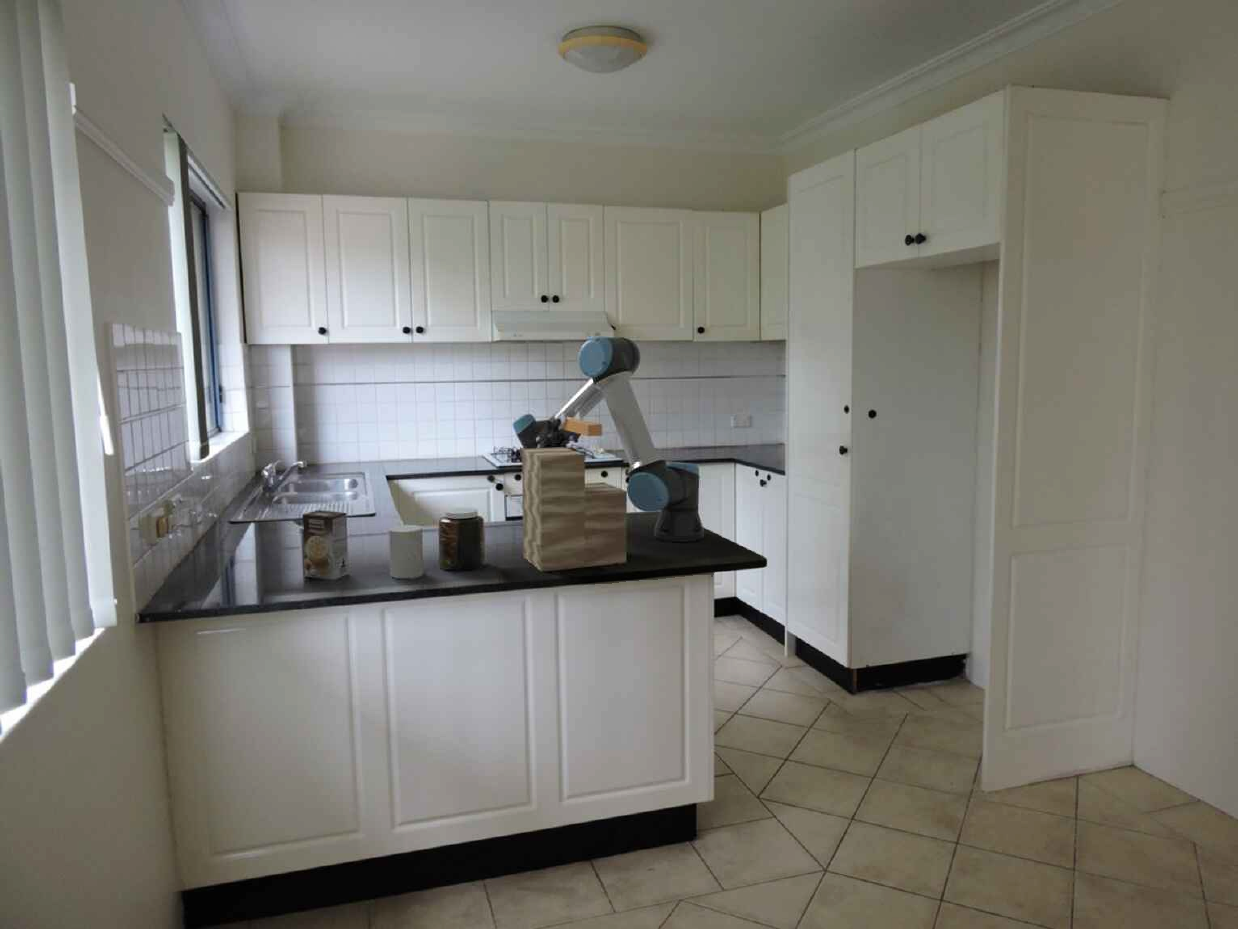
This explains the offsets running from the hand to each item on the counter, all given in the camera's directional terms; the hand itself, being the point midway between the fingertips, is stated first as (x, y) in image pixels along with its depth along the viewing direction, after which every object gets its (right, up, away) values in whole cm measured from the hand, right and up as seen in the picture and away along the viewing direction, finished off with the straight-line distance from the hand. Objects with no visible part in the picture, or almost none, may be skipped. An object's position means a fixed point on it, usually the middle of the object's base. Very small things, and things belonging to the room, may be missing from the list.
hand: (573, 415), depth 242 cm
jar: (-28, -41, -18) cm, 53 cm away
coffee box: (-61, -42, -28) cm, 79 cm away
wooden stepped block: (+1, -40, -11) cm, 41 cm away
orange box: (+2, -5, -3) cm, 6 cm away
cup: (-41, -42, -27) cm, 65 cm away
